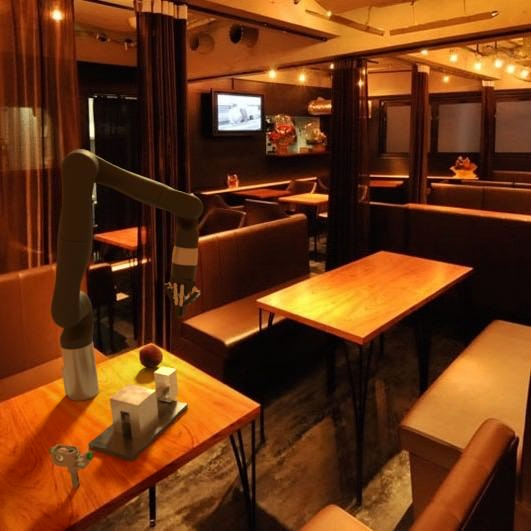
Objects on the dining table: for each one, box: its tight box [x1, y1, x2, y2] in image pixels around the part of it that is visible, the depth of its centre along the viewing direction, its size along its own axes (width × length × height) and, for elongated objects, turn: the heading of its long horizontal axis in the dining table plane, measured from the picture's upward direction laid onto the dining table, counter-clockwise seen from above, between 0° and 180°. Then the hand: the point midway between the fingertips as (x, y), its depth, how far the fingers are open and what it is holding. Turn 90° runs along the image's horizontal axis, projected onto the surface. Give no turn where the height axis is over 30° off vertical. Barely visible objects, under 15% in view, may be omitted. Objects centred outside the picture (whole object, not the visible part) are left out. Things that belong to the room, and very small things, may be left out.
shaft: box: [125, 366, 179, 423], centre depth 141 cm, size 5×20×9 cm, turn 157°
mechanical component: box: [48, 443, 94, 489], centre depth 115 cm, size 3×10×10 cm, turn 78°
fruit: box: [138, 344, 164, 370], centre depth 171 cm, size 8×8×8 cm
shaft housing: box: [87, 383, 189, 463], centre depth 137 cm, size 14×26×12 cm, turn 157°
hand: (179, 316), depth 152 cm, fingers closed
